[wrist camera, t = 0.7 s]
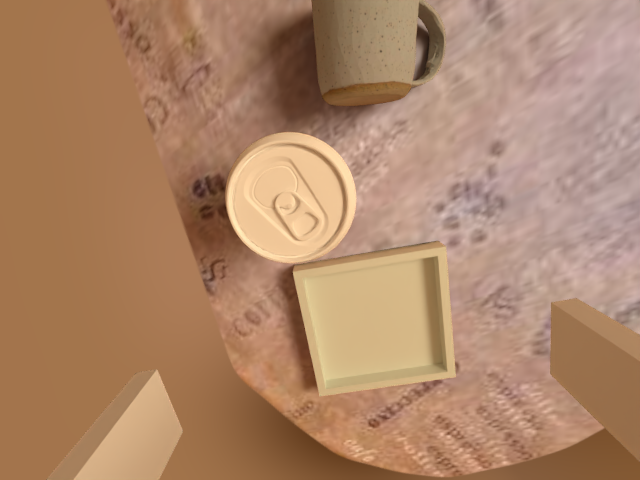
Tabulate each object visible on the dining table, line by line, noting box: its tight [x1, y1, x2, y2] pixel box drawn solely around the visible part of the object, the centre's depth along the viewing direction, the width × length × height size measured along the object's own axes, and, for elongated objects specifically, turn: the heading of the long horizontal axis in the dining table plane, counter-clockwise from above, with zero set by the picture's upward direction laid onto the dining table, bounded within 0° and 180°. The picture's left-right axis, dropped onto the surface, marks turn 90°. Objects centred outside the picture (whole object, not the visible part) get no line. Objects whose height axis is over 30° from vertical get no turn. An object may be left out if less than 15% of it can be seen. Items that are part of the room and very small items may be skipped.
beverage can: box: [225, 132, 356, 263], centre depth 23 cm, size 8×8×12 cm
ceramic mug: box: [311, 0, 446, 106], centre depth 22 cm, size 11×8×8 cm
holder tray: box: [293, 241, 456, 396], centre depth 32 cm, size 15×15×2 cm
